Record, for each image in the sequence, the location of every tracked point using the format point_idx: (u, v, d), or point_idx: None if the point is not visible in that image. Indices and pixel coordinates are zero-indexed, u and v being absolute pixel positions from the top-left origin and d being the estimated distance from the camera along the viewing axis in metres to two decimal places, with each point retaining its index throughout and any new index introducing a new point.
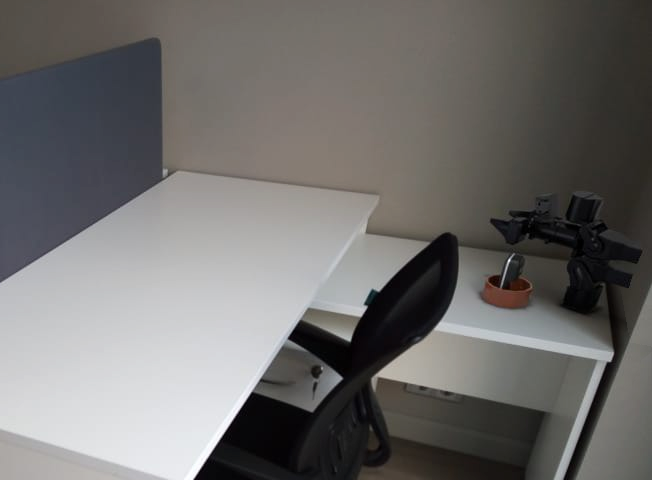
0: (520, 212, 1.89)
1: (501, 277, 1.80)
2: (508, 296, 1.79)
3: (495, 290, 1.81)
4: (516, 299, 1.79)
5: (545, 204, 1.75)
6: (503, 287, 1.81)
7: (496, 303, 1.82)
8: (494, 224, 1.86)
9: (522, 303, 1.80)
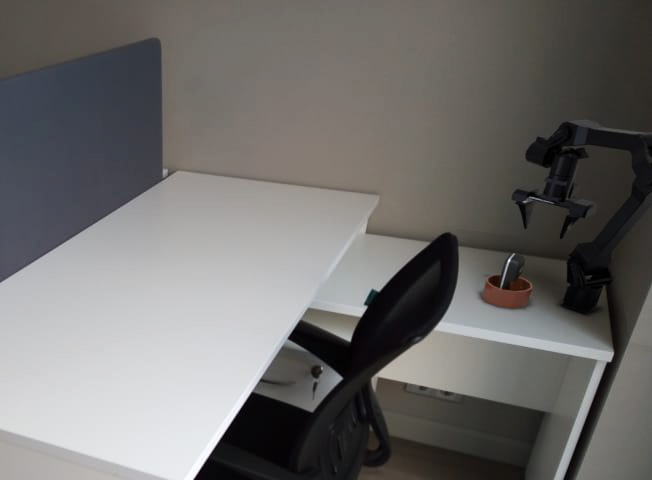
0: None
1: (501, 277, 1.80)
2: (508, 296, 1.79)
3: (495, 290, 1.81)
4: (516, 299, 1.79)
5: None
6: (503, 287, 1.81)
7: (496, 303, 1.82)
8: None
9: (522, 303, 1.80)
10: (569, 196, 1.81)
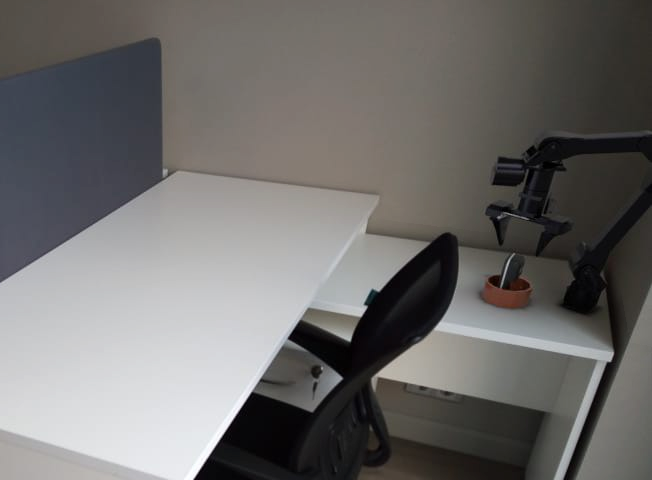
0: None
1: (501, 277, 1.80)
2: (508, 296, 1.79)
3: (495, 290, 1.81)
4: (516, 299, 1.79)
5: None
6: (503, 287, 1.81)
7: (496, 303, 1.82)
8: None
9: (522, 303, 1.80)
10: (545, 212, 1.72)
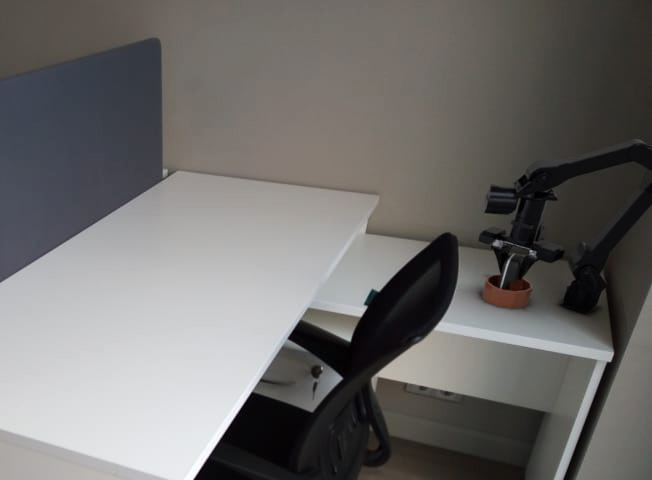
0: None
1: (501, 277, 1.80)
2: (508, 296, 1.79)
3: (495, 290, 1.81)
4: (516, 299, 1.79)
5: None
6: (503, 287, 1.81)
7: (496, 303, 1.82)
8: None
9: (522, 303, 1.80)
10: (536, 239, 1.76)
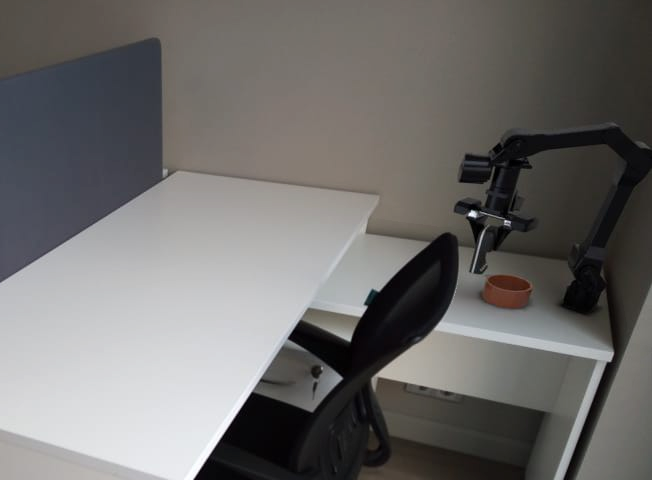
0: None
1: (476, 248, 1.78)
2: (508, 296, 1.79)
3: (495, 290, 1.81)
4: (516, 299, 1.79)
5: None
6: (478, 258, 1.79)
7: (496, 303, 1.82)
8: None
9: (522, 303, 1.80)
10: (511, 209, 1.73)
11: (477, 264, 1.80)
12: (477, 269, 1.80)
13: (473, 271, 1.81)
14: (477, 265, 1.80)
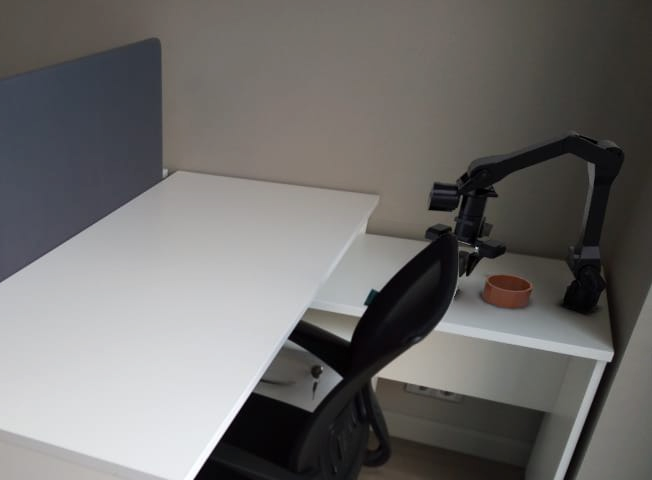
0: None
1: None
2: (508, 296, 1.79)
3: (495, 290, 1.81)
4: (516, 299, 1.79)
5: None
6: None
7: (496, 303, 1.82)
8: None
9: (522, 303, 1.80)
10: (480, 235, 1.78)
11: None
12: None
13: None
14: None
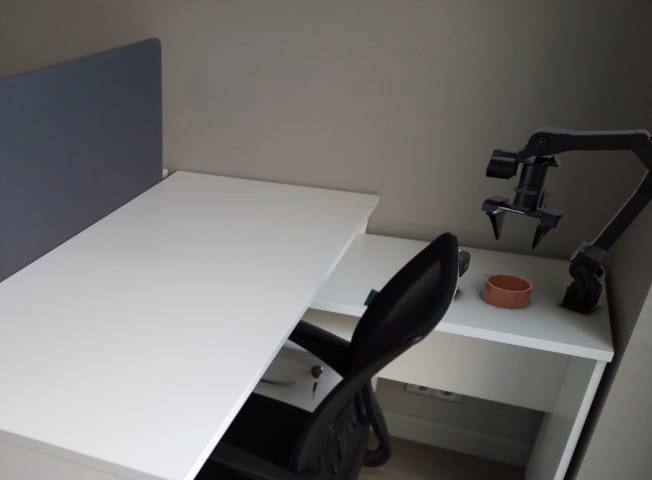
0: None
1: None
2: (508, 296, 1.79)
3: (495, 290, 1.81)
4: (516, 299, 1.79)
5: None
6: None
7: (496, 303, 1.82)
8: None
9: (522, 303, 1.80)
10: (540, 205, 1.76)
11: None
12: None
13: None
14: None
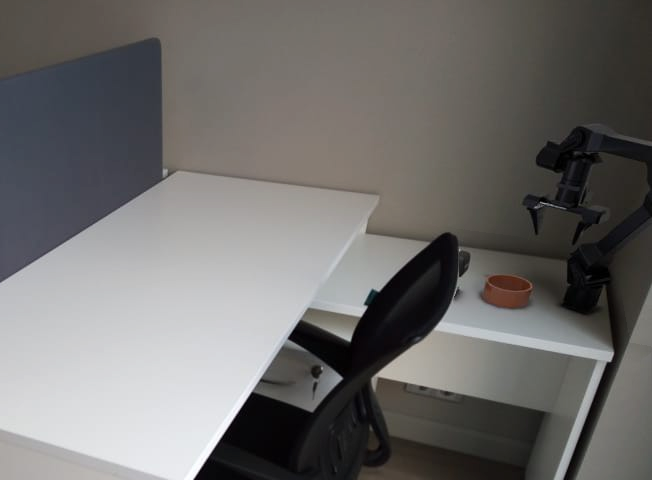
0: None
1: None
2: (508, 296, 1.79)
3: (495, 290, 1.81)
4: (516, 299, 1.79)
5: None
6: None
7: (496, 303, 1.82)
8: None
9: (522, 303, 1.80)
10: (582, 202, 1.78)
11: None
12: None
13: None
14: None
